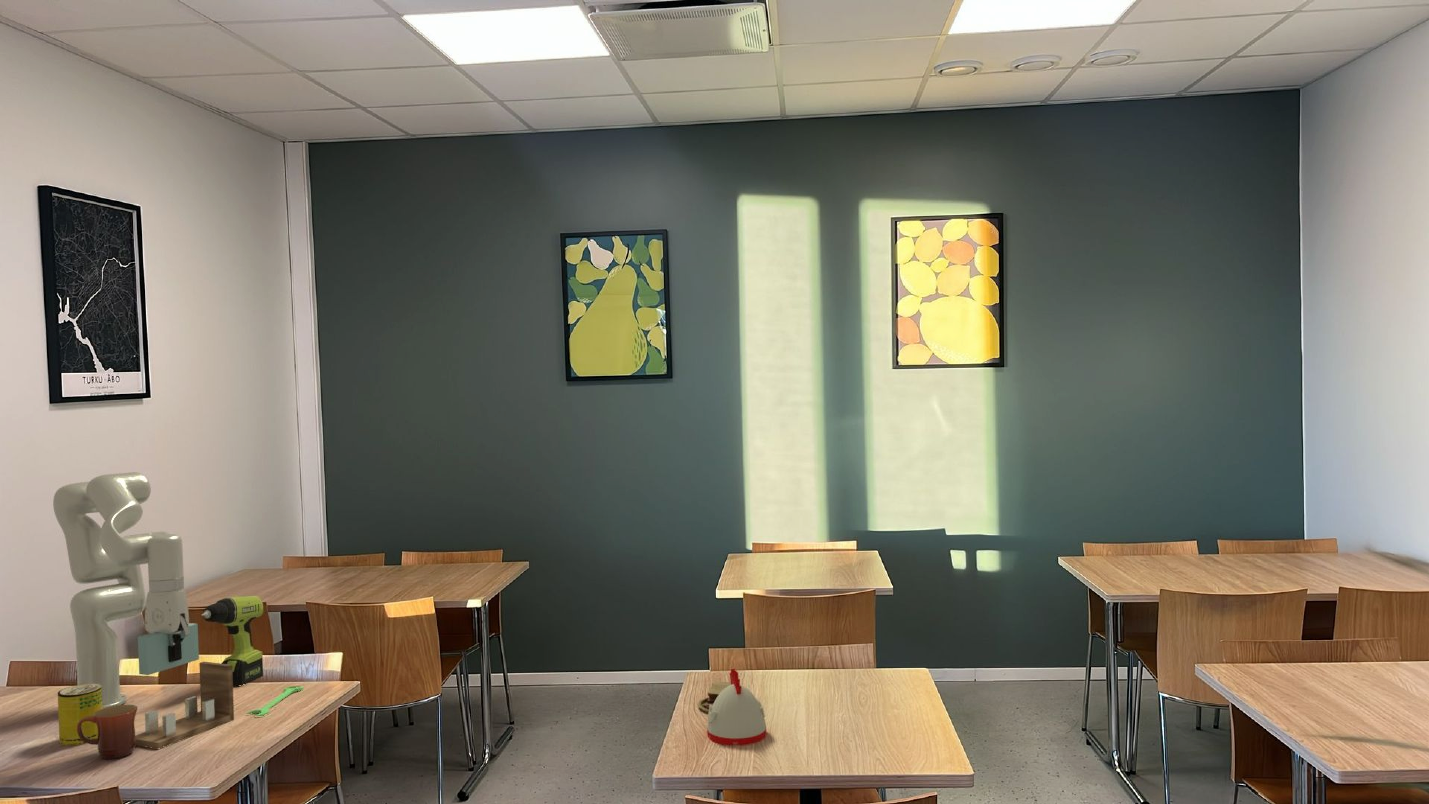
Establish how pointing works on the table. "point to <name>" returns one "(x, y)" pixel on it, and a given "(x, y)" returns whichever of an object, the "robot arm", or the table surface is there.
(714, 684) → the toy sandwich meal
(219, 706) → the cabinet base
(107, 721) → the mug
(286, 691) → the wrench
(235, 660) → the cordless drill
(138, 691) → the table surface
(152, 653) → the pale teal rectangular block
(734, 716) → the kitchen timer
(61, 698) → the yellow food can
